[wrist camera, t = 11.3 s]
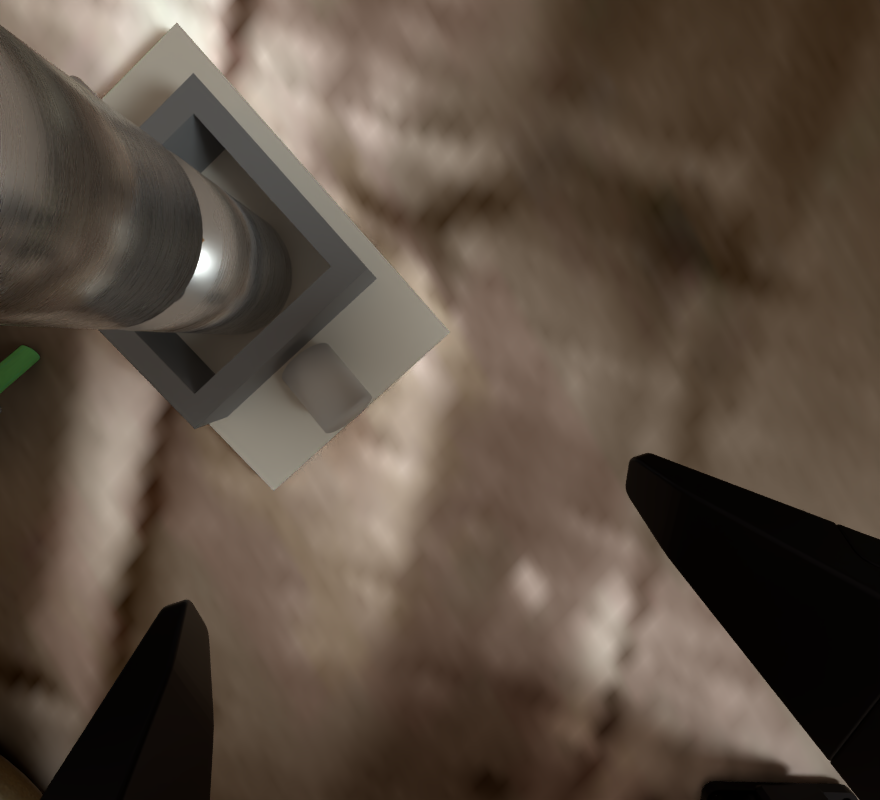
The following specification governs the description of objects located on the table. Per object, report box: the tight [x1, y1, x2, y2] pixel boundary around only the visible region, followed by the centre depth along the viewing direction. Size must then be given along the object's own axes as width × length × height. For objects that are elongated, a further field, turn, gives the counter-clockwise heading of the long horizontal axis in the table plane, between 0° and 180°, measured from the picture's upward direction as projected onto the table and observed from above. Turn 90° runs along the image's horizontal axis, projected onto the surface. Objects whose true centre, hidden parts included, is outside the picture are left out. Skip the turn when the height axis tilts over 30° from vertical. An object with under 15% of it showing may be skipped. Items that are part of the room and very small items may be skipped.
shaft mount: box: [70, 23, 450, 491], centre depth 17 cm, size 14×9×4 cm, turn 42°
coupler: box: [0, 25, 292, 335], centre depth 11 cm, size 4×4×13 cm
